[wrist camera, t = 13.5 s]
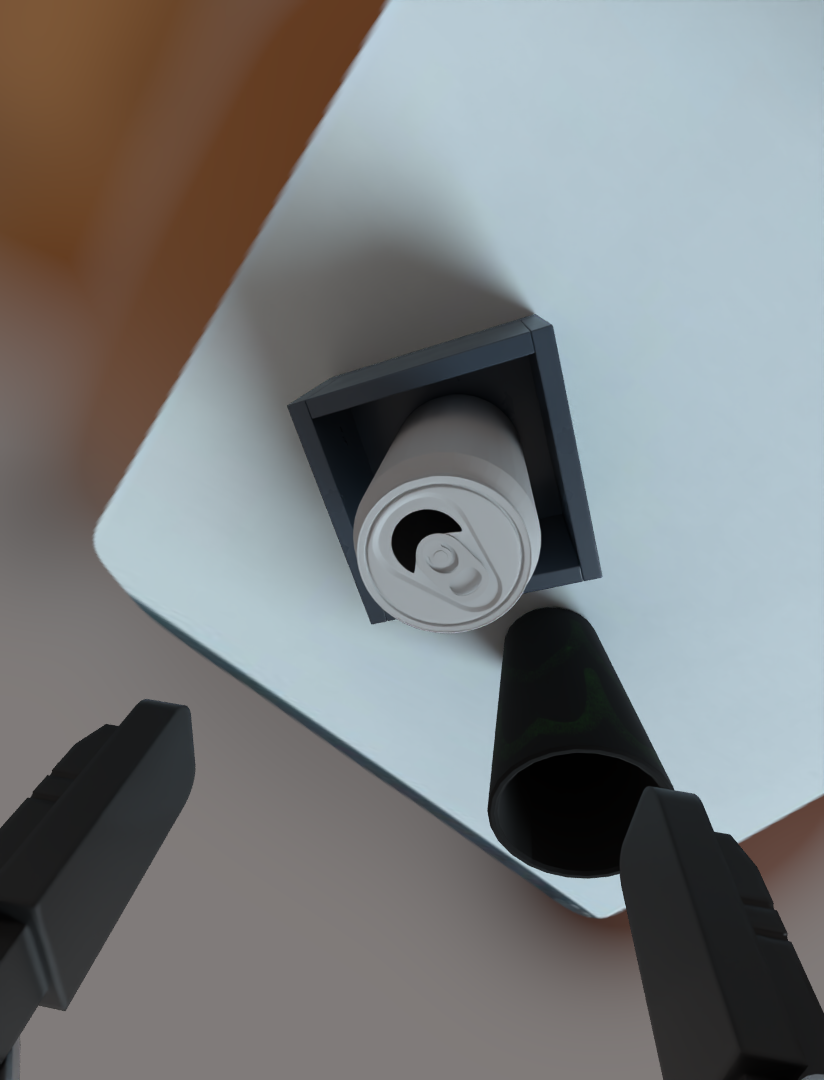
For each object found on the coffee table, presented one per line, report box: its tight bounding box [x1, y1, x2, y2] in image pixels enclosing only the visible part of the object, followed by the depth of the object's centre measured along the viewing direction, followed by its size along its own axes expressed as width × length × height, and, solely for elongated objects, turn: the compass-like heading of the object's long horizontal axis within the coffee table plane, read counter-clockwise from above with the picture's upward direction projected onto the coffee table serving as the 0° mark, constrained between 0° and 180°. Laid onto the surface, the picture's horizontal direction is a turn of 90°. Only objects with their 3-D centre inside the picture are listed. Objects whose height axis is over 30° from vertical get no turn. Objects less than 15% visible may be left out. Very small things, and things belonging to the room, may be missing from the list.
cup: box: [488, 608, 674, 878], centre depth 29 cm, size 8×8×12 cm
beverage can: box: [353, 394, 541, 633], centre depth 23 cm, size 6×6×12 cm
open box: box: [287, 314, 602, 624], centre depth 27 cm, size 11×11×7 cm
